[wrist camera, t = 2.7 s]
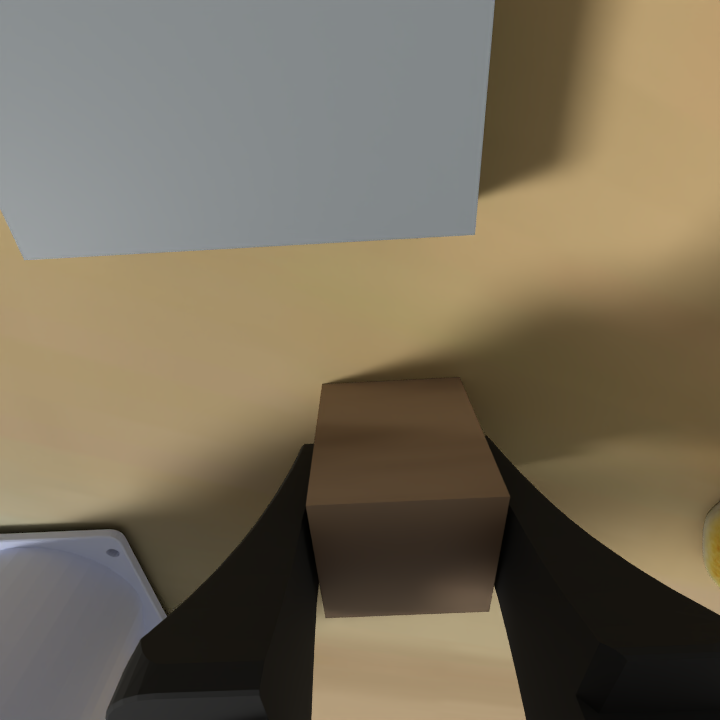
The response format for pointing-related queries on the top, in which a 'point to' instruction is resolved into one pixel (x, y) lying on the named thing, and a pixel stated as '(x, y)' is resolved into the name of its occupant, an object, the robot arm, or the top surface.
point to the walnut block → (403, 500)
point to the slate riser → (239, 122)
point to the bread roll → (712, 544)
